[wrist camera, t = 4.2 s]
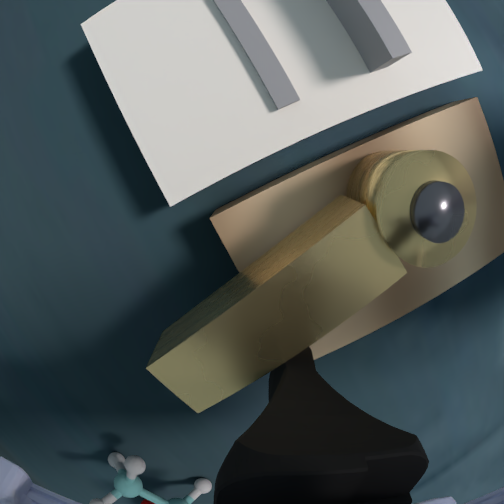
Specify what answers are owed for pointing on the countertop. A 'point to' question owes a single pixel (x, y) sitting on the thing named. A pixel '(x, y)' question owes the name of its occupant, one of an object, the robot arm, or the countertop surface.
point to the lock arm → (320, 274)
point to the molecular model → (132, 484)
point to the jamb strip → (335, 184)
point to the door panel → (262, 73)
